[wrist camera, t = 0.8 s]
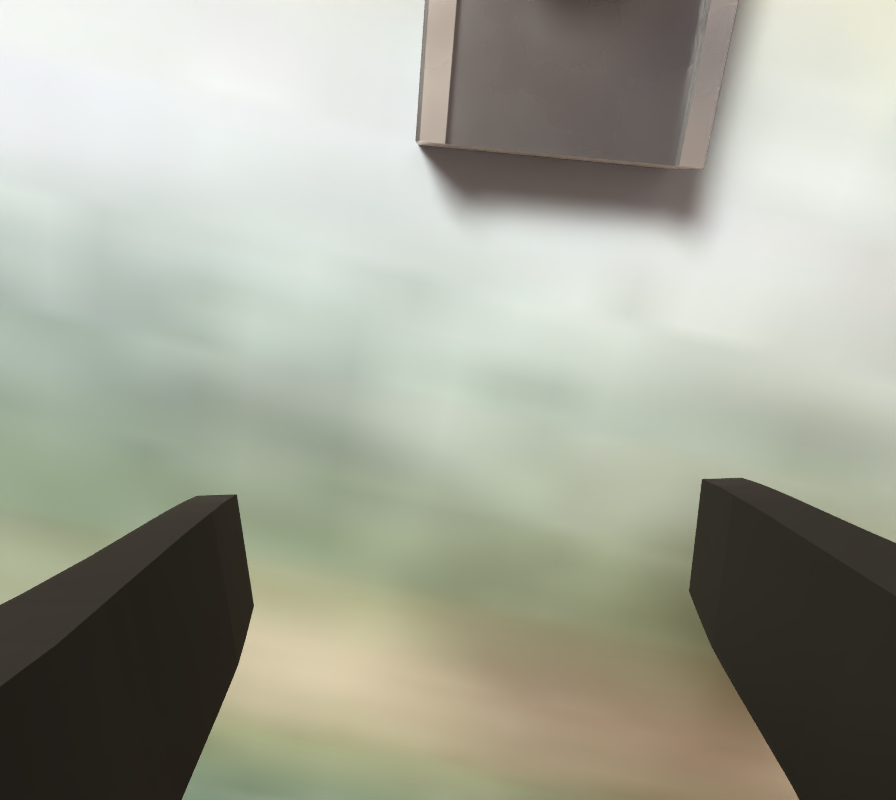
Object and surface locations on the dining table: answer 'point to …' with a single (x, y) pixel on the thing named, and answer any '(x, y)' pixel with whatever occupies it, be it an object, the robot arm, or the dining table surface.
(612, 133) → the strip
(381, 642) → the dining table surface
